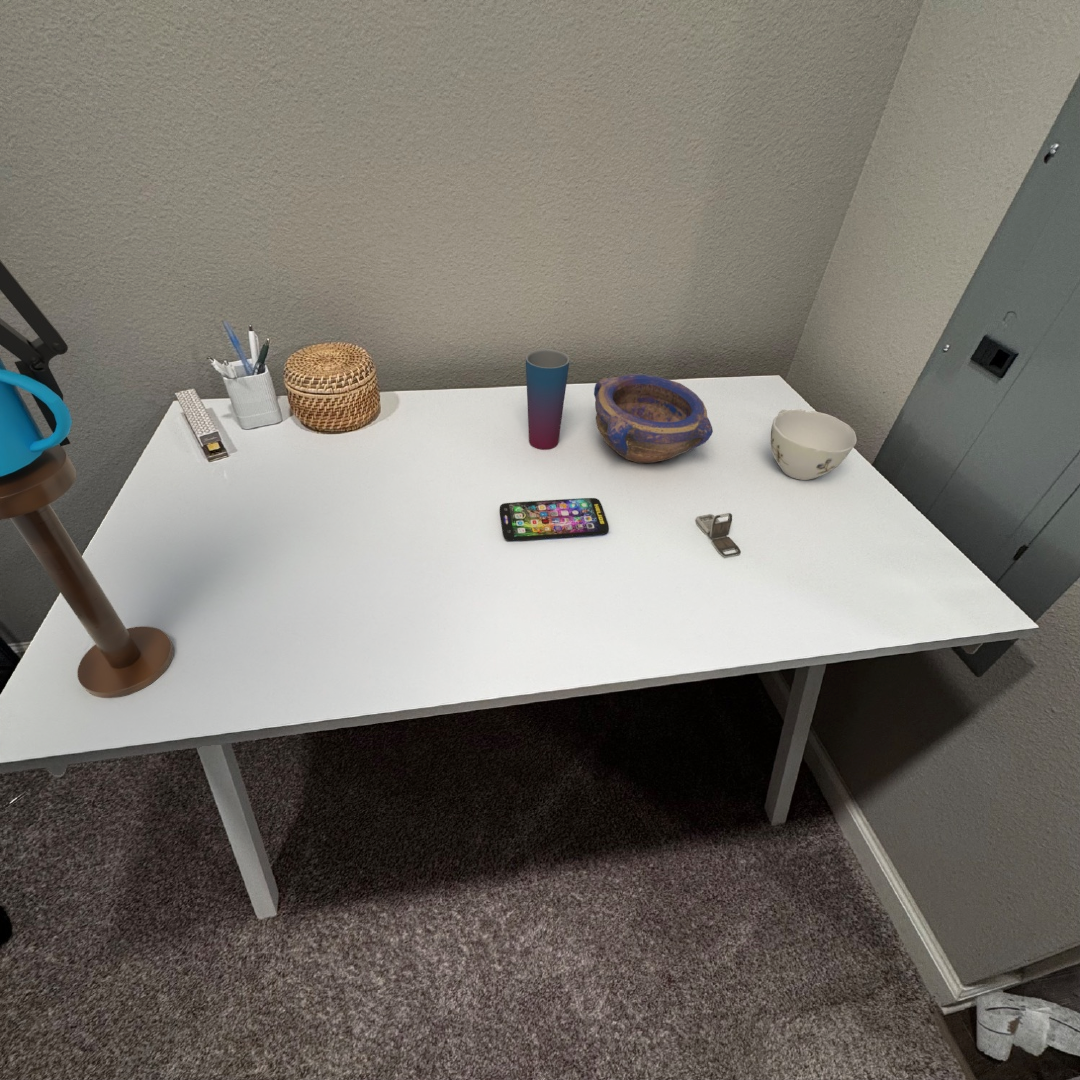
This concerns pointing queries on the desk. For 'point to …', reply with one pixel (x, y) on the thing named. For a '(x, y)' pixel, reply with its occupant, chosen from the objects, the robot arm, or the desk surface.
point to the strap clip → (718, 532)
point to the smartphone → (553, 519)
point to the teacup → (810, 442)
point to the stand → (81, 581)
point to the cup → (545, 395)
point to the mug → (26, 421)
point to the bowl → (649, 417)
